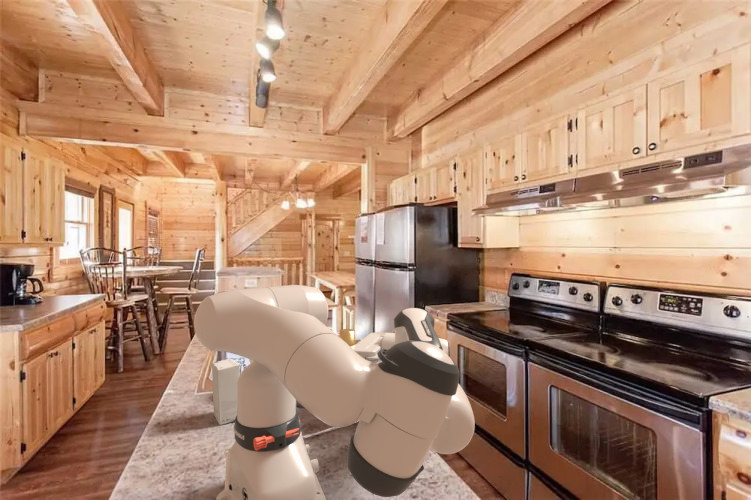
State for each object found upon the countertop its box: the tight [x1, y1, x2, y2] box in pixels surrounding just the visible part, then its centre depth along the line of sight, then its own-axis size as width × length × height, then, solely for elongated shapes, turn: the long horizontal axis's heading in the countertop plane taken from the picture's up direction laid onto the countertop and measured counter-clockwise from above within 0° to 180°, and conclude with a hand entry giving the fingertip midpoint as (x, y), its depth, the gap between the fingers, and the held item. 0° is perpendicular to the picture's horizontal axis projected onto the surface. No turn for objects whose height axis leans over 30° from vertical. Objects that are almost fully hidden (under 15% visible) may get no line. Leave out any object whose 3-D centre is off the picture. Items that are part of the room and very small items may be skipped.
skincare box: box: [211, 358, 241, 426], centre depth 103 cm, size 8×6×15 cm
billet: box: [339, 328, 356, 346], centre depth 109 cm, size 4×4×12 cm
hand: (344, 345), depth 109 cm, fingers closed on billet, 4 cm apart
